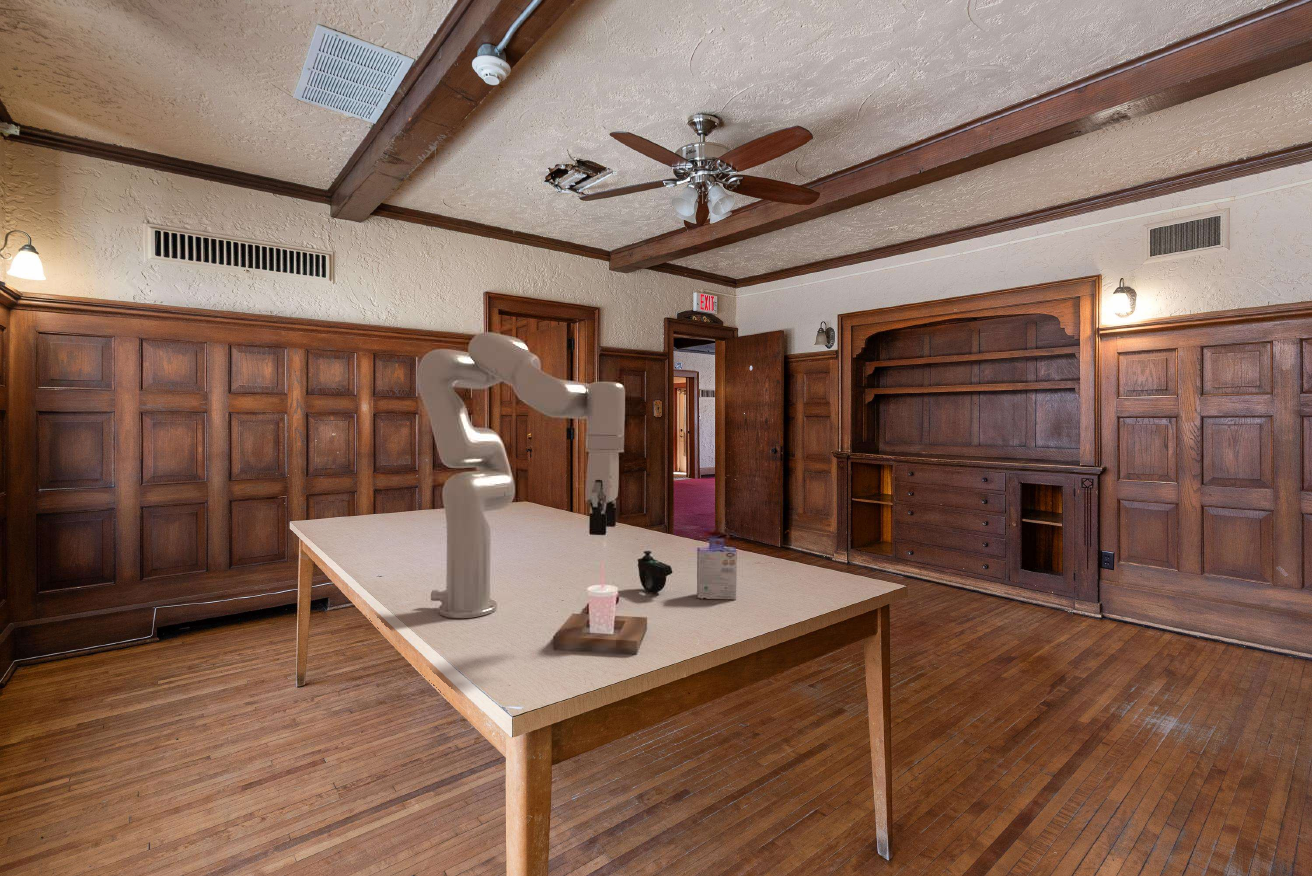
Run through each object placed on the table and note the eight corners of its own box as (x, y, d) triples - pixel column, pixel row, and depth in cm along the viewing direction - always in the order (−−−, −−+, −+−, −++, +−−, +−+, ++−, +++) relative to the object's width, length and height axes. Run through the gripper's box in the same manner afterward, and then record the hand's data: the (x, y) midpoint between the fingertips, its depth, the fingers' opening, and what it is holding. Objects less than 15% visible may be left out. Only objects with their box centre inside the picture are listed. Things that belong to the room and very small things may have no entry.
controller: (648, 586, 157) (649, 548, 157) (674, 597, 146) (674, 557, 146) (634, 588, 155) (635, 550, 154) (659, 599, 144) (660, 559, 144)
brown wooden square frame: (553, 649, 110) (553, 636, 110) (572, 625, 124) (572, 613, 124) (636, 654, 109) (637, 640, 109) (647, 629, 122) (647, 617, 122)
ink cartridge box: (734, 594, 150) (735, 537, 150) (737, 600, 145) (738, 541, 145) (696, 593, 150) (697, 537, 150) (697, 599, 145) (698, 541, 145)
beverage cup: (609, 640, 113) (610, 568, 113) (580, 636, 115) (582, 565, 115) (621, 630, 119) (622, 561, 118) (594, 626, 120) (595, 558, 120)
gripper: (596, 443, 125) (594, 522, 125) (575, 445, 108) (573, 537, 108) (630, 444, 124) (628, 524, 124) (615, 446, 107) (613, 539, 107)
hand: (603, 530), depth 116 cm, fingers open, 9 cm apart
